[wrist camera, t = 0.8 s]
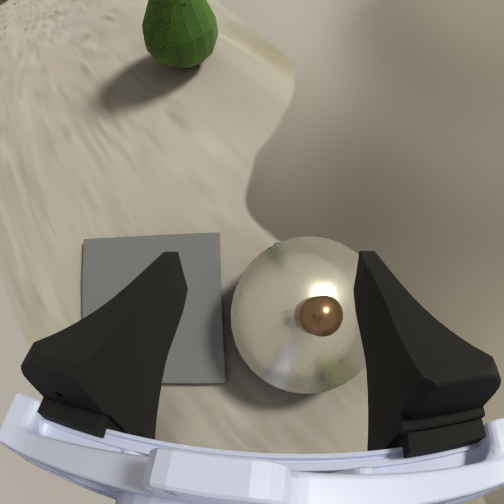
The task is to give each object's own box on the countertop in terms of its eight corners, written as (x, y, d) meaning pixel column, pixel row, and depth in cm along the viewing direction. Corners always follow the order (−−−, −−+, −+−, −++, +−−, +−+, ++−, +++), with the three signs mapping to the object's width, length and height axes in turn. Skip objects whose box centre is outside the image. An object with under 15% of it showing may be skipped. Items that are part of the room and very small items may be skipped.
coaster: (225, 381, 27) (225, 382, 26) (89, 376, 26) (86, 377, 25) (219, 234, 29) (219, 232, 28) (86, 240, 28) (84, 239, 28)
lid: (381, 379, 25) (405, 390, 20) (234, 395, 24) (234, 412, 20) (372, 237, 27) (395, 223, 23) (228, 242, 26) (226, 227, 22)
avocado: (187, 31, 34) (176, -42, 22) (232, 55, 33) (232, -25, 21) (139, 66, 32) (113, -8, 21) (182, 94, 32) (164, 12, 20)
